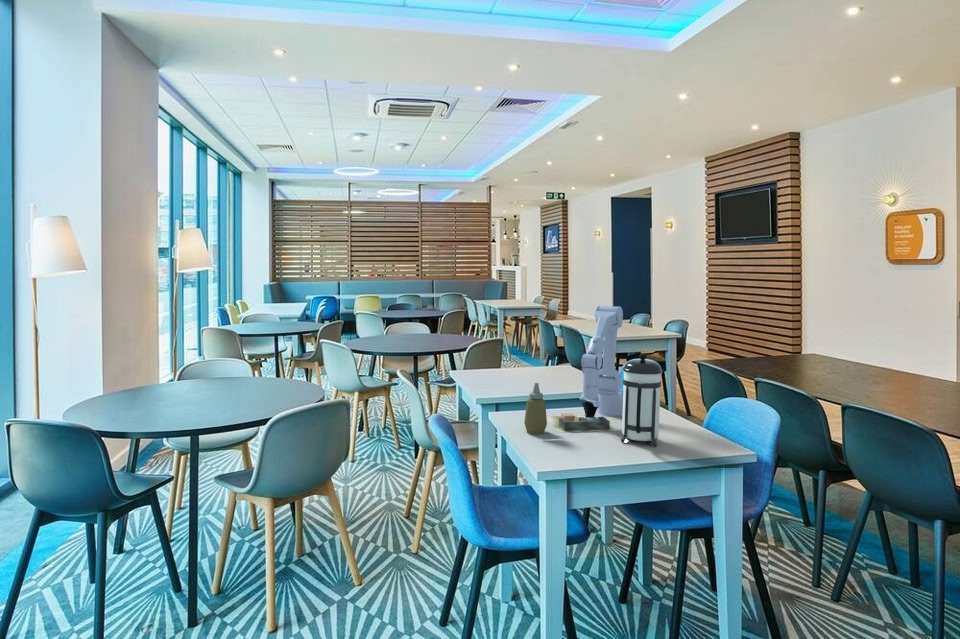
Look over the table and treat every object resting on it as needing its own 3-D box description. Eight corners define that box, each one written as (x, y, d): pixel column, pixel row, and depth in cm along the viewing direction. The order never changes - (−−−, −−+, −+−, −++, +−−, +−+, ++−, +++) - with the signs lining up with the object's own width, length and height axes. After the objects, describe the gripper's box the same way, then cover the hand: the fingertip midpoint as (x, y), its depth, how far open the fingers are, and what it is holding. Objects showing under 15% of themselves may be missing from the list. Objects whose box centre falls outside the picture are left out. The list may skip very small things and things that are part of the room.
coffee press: (606, 437, 195) (608, 351, 193) (644, 433, 201) (647, 350, 199) (636, 451, 179) (639, 358, 177) (677, 447, 185) (681, 356, 182)
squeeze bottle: (522, 435, 196) (523, 384, 194) (525, 429, 204) (526, 380, 202) (545, 437, 194) (546, 385, 192) (548, 431, 202) (549, 381, 200)
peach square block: (571, 420, 215) (571, 413, 214) (574, 423, 211) (574, 415, 210) (560, 421, 214) (561, 413, 214) (564, 423, 210) (564, 416, 210)
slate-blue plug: (596, 424, 209) (596, 417, 209) (600, 427, 205) (600, 419, 205) (585, 425, 209) (586, 417, 208) (589, 428, 205) (589, 420, 205)
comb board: (595, 416, 224) (595, 407, 224) (617, 431, 202) (617, 422, 202) (543, 417, 221) (543, 409, 220) (559, 433, 199) (559, 423, 199)
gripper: (574, 382, 216) (573, 416, 217) (587, 389, 201) (586, 426, 202) (591, 381, 217) (590, 416, 218) (605, 389, 202) (604, 426, 203)
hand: (589, 421), depth 210 cm, fingers closed
